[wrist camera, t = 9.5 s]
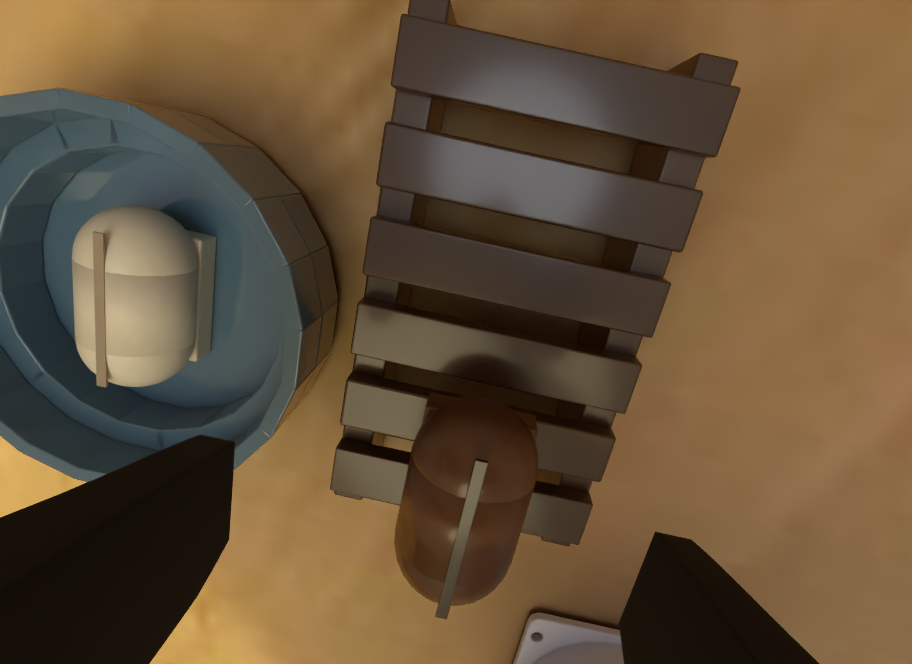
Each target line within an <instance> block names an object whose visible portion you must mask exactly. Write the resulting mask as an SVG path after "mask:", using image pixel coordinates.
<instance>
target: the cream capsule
mask: <svg viewBox="0 0 912 664" xmlns="http://www.w3.org/2000/svg"><path fill="white" fill-rule="evenodd" d="M215 253H216V237H215V236H212V235H207V234H203V233H198V232H194V231H189V230H185V228H184V227H183V226H182V225H181V224H180V223H178V222H177V221H176V220H175V219H174V218H172V217H170V216H168V215H167V214H165V213H163V212H161V211H158V210H155V209H152V208H149V207H145V206H139V205H125V206H116V207H113V208H110V209H106V210H103V211H101V212H100V213H98V214H96V215H94V216H93V217H92V218H91V219H89V220H88V221H87V222H86V223H85V224H84V225H83V226H82V227H81V229H80V230H79V232H78V233H77V235H76V238H75V241H74V243H73V250H72V276H73V300H74V325H75V341H76V346H77V350H78V353H79V355H80V357H81V359H82V360H83V362H84V363H85V364H86V366H87V367H88V368H89V369H90V370H91V371H92V372H94V373H95V374H96V380H97V386H101V387H108V382H111V383H113V384H116V385H120V386H128V387H143V386H149V385H154V384H157V383H160V382H163V381H164V380H166V379H168V378H170V377H172V376H174V375H175V374H176V373H177V372H178V371H180V370H181V369H182V368H183V367H184V366H185V364H186V363H187V361H188V360H190V361H194V362H195V361H198V360H200V359H201V358H203V357H204V356H206V355H207V354H209V353H210V348H211V329H212V310H213V291H214V272H215Z"/></svg>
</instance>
